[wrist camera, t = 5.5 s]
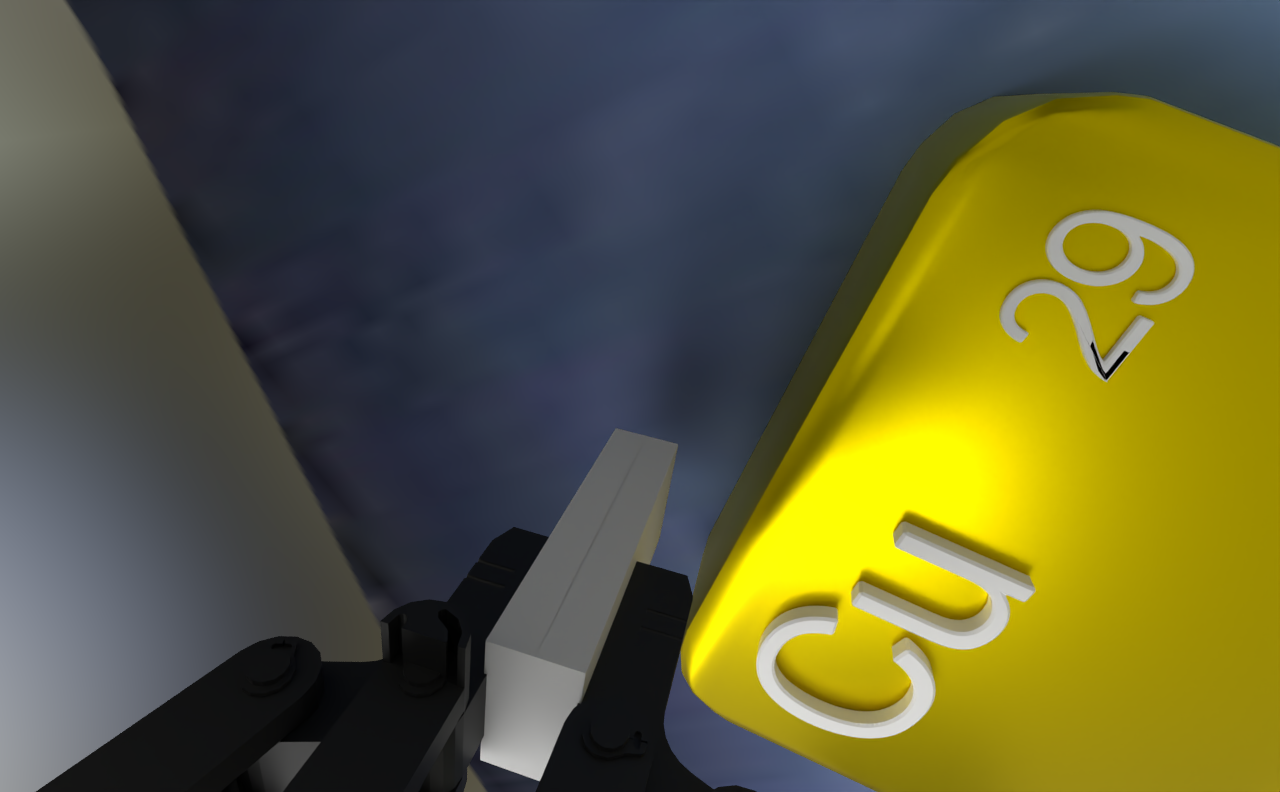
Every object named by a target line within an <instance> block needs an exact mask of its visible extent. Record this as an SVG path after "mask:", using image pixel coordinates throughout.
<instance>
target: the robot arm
mask: <svg viewBox="0 0 1280 792" xmlns="http://www.w3.org/2000/svg"><path fill="white" fill-rule="evenodd" d="M677 448H678V444H675V443H672V442H668V441H664V440H660V439H656V438H652V437H648V436H644V435H641V434H637V433H633V432H629V431H625V430H621V429H617V428H616V429H615V430H614V432H613V434H612V435H611V437H610V439H609V440H608V442H607V444H606V445H605V447H604V448H603V450H602V452H601V453H600V455H599V457H598V458H597V460H596V461H595V463H594V465H593V466H592V468H591V470H590V471H589V473H588V475H587V476H586V478H585V479H584V481H583V483H582V484H581V486H580V488H579V489H578V491H577V493H576V494H575V496H574V497H573V499H572V501H571V502H570V504H569V506H568V507H567V509H566V510H565V512H564V514H563V515H562V517H561V519H560V520H559V522H558V524H557V525H556V527H555V528H554V530H553V532H552V533H551V535H550V537H546V536H543V535H540V534H536V533H533V532H529V531H526V530H522V529H519V528H516V527H513V528H512V529H510V530H508V531H507V532H505V533H504V534H502V535H500V536H499V537H497V538H495V539H494V540H492V542H491V543H490V544H489V546H488V547H487V548H486V550H485V551H484V552H483V554H482V555H481V557H480V558H479V561H478V563H475V565H474V566H473V567H472V569H471V570H470V571H469V573H468V575H467V578H464V580H463V581H462V582H461V584H460V585H459V586H458V588H457V589H456V591H455V592H454V593H453V595H452V596H451V597H450V599H449V600H448V601H447V602H443V601H436V600H423V601H416V602H410V603H408V604H406V605H404V606H401V607H399V608H397V609H394V610H393V611H392V612H391V613H390V614H388V615H387V616H386V617H385V618H384V619H383V620H381V636H382V652H383V659H382V660H378V661H370V662H323V661H321V657H320V652H319V651H318V650H317V648H316V647H315V646H314V645H313V644H312V642H309V641H306V640H304V639H301V638H299V637H284V636H278V637H274V638H270V639H266V640H263V641H259V642H257V643H255V644H253V645H251V646H249V647H247V648H245V649H243V650H241V651H240V652H238V653H237V654H235V655H234V656H232V657H231V658H229V659H228V660H226V661H225V662H224V663H222V664H221V665H219V666H218V667H216V668H215V669H214V670H212V671H211V672H209V673H208V674H206V675H205V676H203V677H202V678H200V679H199V680H198V681H196V682H195V683H193V684H192V685H190V686H189V687H187V688H186V689H184V690H183V691H181V692H180V693H179V694H177V695H176V696H174V697H173V698H171V699H170V700H168V701H167V702H166V703H164V704H163V705H161V706H160V707H159V708H157V709H155V710H154V711H153V712H151V713H149V714H148V715H147V716H145V717H144V718H142V719H141V720H139V721H138V722H136V723H135V724H133V725H132V726H131V727H129V728H128V729H126V730H125V731H123V732H122V733H120V734H119V735H118V736H116V737H115V738H113V739H112V740H110V741H109V742H107V743H106V744H104V745H103V746H102V747H100V748H99V749H97V750H96V751H94V752H93V753H91V754H90V755H89V756H87V757H86V758H84V759H83V760H81V761H80V762H78V763H77V764H75V765H74V766H72V767H71V768H70V769H68V770H67V771H65V772H64V773H62V774H61V775H59V776H58V777H56V778H55V779H54V780H52V781H51V782H49V783H48V784H46V785H45V786H43V787H42V788H40V789H39V790H38V791H36V792H463V791H464V788H465V785H466V781H467V767H468V765H469V763H470V761H471V759H472V758H473V756H474V754H475V752H476V750H477V748H478V746H479V744H480V742H481V755H480V760H482V761H485V762H488V763H491V764H493V765H496V766H499V767H502V768H504V769H507V770H510V771H513V772H516V773H518V774H521V775H524V776H527V777H530V778H532V779H535V780H538V781H540V782H539V785H538V787H537V790H536V792H756V791H754V790H750V789H747V788H744V787H740V786H737V785H735V786H725V787H718V788H716V789H712V788H711V787H710V786H708V785H707V784H705V783H704V782H703V781H701V780H700V779H699V778H697V777H696V776H695V775H693V774H692V773H691V772H690V771H689V770H688V769H686V768H685V767H684V766H683V765H682V764H681V763H680V762H679V761H678V759H677V758H676V756H675V755H674V753H673V752H672V751H671V749H670V746H669V744H668V741H667V739H666V736H665V730H664V714H665V710H666V706H667V702H668V698H669V694H670V690H671V686H672V682H673V678H674V674H675V670H676V666H677V662H678V658H679V654H680V650H681V645H682V641H683V637H684V633H685V629H686V625H687V621H688V617H689V613H690V609H691V605H692V601H693V596H692V592H691V588H690V584H689V580H688V577H687V576H686V575H683V574H679V573H676V572H672V571H669V570H666V569H662V568H659V567H655V566H652V565H650V562H651V559H652V557H653V554H654V551H655V548H656V546H657V543H658V540H659V537H660V533H661V528H662V523H663V518H664V513H665V508H666V503H667V498H668V493H669V488H670V483H671V478H672V473H673V468H674V463H675V458H676V453H677Z"/></svg>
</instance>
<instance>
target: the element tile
mask: <svg viewBox="0 0 1280 792" xmlns="http://www.w3.org/2000/svg"><path fill="white" fill-rule="evenodd" d="M681 668H682V673H683V675H684V677H685V679H686V681H687V683H688V685H689V686H690V688H691V690H692V692H693V693H694V694H695V695H696V696H697V697H698V698H699V699H700V700H702V701H703V702H704V703H705V704H706V705H707V706H708V707H709V708H710V709H712V710H713V711H714V712H715V713H717V714H718V715H720V716H721V717H723V718H724V719H726V720H727V721H729V722H731V723H733V724H735V725H737V726H739V727H742V728H744V729H746V730H748V731H750V732H752V733H754V734H756V735H758V736H761V737H763V738H765V739H767V740H769V741H771V742H773V743H775V744H777V745H780V746H782V747H784V748H786V749H788V750H790V751H792V752H794V753H796V754H799V755H801V756H803V757H805V758H807V759H809V760H811V761H813V762H815V763H818V764H820V765H822V766H824V767H826V768H828V769H830V770H832V771H834V772H837V773H839V774H841V775H843V776H845V777H847V778H849V779H851V780H853V781H856V782H858V783H860V784H862V785H864V786H866V787H868V788H870V789H872V790H875V791H877V792H1280V146H1278V145H1275V144H1273V143H1270V142H1268V141H1265V140H1262V139H1260V138H1257V137H1254V136H1252V135H1249V134H1247V133H1244V132H1241V131H1239V130H1236V129H1234V128H1231V127H1228V126H1226V125H1223V124H1220V123H1218V122H1215V121H1213V120H1210V119H1207V118H1205V117H1202V116H1199V115H1197V114H1194V113H1192V112H1189V111H1186V110H1184V109H1181V108H1179V107H1176V106H1173V105H1171V104H1168V103H1165V102H1163V101H1160V100H1158V99H1155V98H1152V97H1150V96H1144V95H1136V94H1127V93H1119V92H1091V93H1053V94H1028V95H1013V96H997V97H992V98H990V99H987V100H985V101H983V102H980V103H978V104H976V105H973V106H971V107H969V108H967V109H964V110H962V111H960V112H957V113H955V114H954V115H953V116H952V117H951V118H949V119H948V120H947V121H946V122H945V123H944V124H943V125H942V126H941V127H939V128H938V129H937V130H936V131H935V132H934V133H933V134H932V135H931V136H929V137H928V138H927V139H926V140H925V141H924V142H923V143H922V144H921V145H920V146H919V148H918V149H917V151H916V152H915V153H914V155H913V156H912V157H911V159H910V160H909V161H908V163H907V164H906V166H905V167H904V168H903V170H902V171H901V173H900V175H899V177H898V179H897V181H896V183H895V185H894V186H893V188H892V190H891V192H890V194H889V196H888V198H887V200H886V202H885V203H884V205H883V207H882V209H881V211H880V213H879V215H878V217H877V219H876V220H875V222H874V224H873V226H872V228H871V230H870V232H869V234H868V236H867V238H866V239H865V241H864V243H863V245H862V247H861V249H860V251H859V253H858V255H857V256H856V258H855V260H854V262H853V264H852V266H851V268H850V270H849V272H848V273H847V275H846V277H845V279H844V281H843V283H842V285H841V287H840V289H839V291H838V292H837V294H836V296H835V298H834V300H833V302H832V304H831V306H830V308H829V309H828V311H827V313H826V315H825V317H824V319H823V321H822V323H821V325H820V326H819V328H818V330H817V332H816V334H815V336H814V338H813V340H812V342H811V344H810V345H809V347H808V349H807V351H806V353H805V355H804V357H803V359H802V361H801V362H800V364H799V366H798V368H797V370H796V372H795V374H794V376H793V378H792V379H791V381H790V383H789V385H788V387H787V389H786V391H785V393H784V395H783V397H782V398H781V400H780V402H779V404H778V406H777V408H776V410H775V412H774V414H773V415H772V417H771V419H770V421H769V423H768V425H767V427H766V429H765V431H764V432H763V434H762V436H761V438H760V440H759V442H758V444H757V446H756V448H755V450H754V451H753V453H752V455H751V457H750V459H749V461H748V463H747V465H746V467H745V468H744V470H743V472H742V474H741V476H740V478H739V480H738V482H737V484H736V485H735V487H734V489H733V491H732V493H731V495H730V497H729V499H728V501H727V503H726V504H725V506H724V508H723V510H722V512H721V514H720V516H719V518H718V520H717V521H716V523H715V525H714V527H713V529H712V531H711V533H710V535H709V537H708V540H707V543H706V547H705V550H704V553H703V557H702V561H701V565H700V569H699V573H698V577H697V581H696V585H695V589H694V593H693V601H692V605H691V609H690V613H689V617H688V621H687V625H686V629H685V633H684V637H683V641H682V645H681Z"/></svg>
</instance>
